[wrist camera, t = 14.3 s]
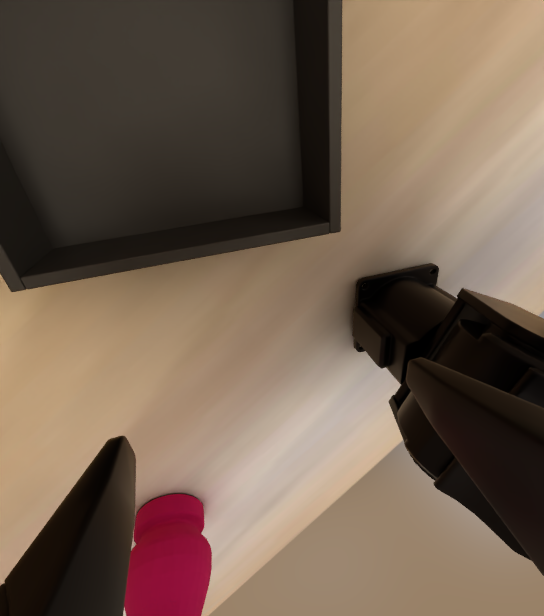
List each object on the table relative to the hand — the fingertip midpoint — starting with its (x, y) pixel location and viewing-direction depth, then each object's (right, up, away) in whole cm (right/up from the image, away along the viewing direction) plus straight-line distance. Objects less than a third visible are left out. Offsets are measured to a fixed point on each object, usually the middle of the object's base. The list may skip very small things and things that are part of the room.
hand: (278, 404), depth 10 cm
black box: (-6, +13, +5) cm, 15 cm away
